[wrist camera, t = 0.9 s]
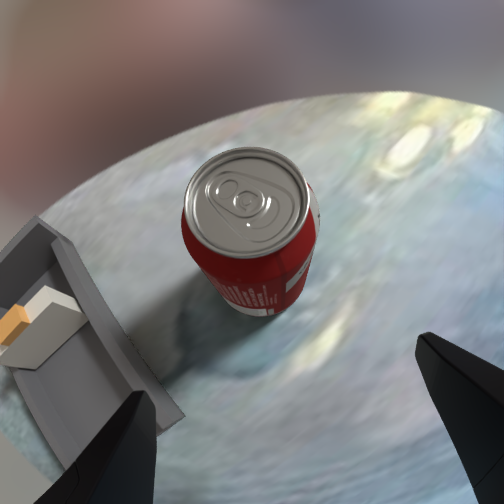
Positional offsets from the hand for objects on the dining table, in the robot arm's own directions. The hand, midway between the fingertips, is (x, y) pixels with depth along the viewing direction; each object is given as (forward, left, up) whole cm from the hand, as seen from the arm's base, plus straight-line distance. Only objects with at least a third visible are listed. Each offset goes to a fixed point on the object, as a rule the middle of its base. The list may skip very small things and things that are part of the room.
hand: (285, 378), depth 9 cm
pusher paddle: (0, +19, -13) cm, 23 cm away
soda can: (+7, +2, -14) cm, 16 cm away
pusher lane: (-1, +17, -14) cm, 22 cm away
